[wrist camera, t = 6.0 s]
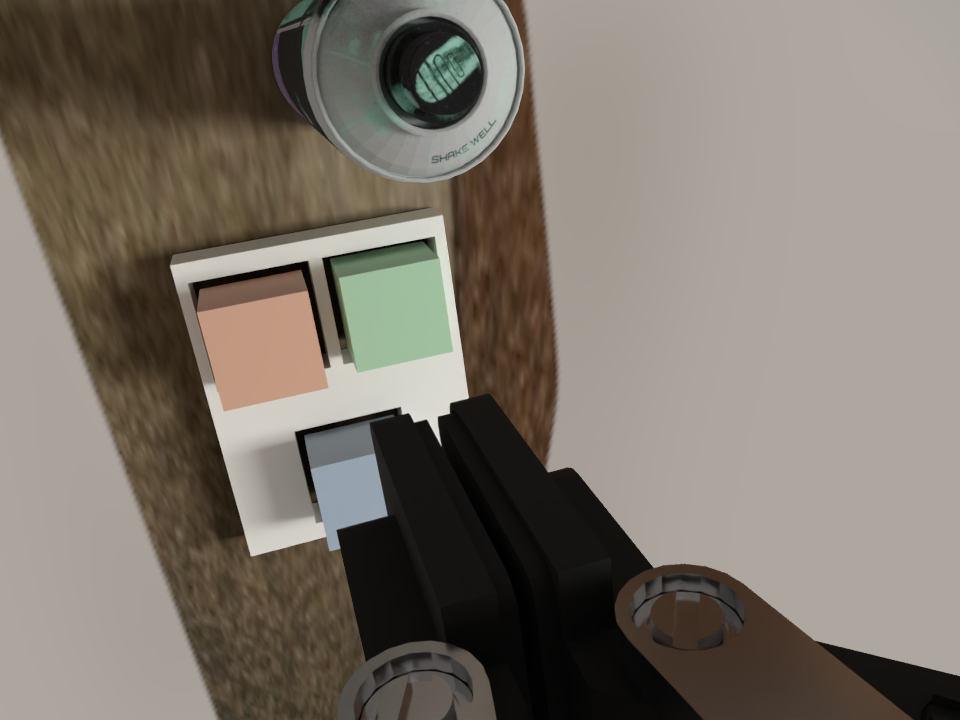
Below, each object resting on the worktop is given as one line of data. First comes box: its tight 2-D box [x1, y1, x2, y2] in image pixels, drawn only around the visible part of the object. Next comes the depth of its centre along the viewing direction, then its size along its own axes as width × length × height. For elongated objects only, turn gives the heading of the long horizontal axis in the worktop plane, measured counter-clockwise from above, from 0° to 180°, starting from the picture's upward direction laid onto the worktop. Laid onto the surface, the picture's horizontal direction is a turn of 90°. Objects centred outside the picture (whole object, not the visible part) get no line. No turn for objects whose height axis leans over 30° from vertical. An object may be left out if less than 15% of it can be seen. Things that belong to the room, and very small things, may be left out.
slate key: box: [304, 414, 394, 551], centre depth 39 cm, size 4×4×4 cm
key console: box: [170, 207, 469, 556], centre depth 40 cm, size 15×12×2 cm
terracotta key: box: [197, 270, 328, 411], centre depth 35 cm, size 4×4×4 cm
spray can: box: [272, 0, 525, 183], centre depth 27 cm, size 6×6×20 cm
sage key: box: [330, 241, 453, 373], centre depth 37 cm, size 4×4×4 cm
